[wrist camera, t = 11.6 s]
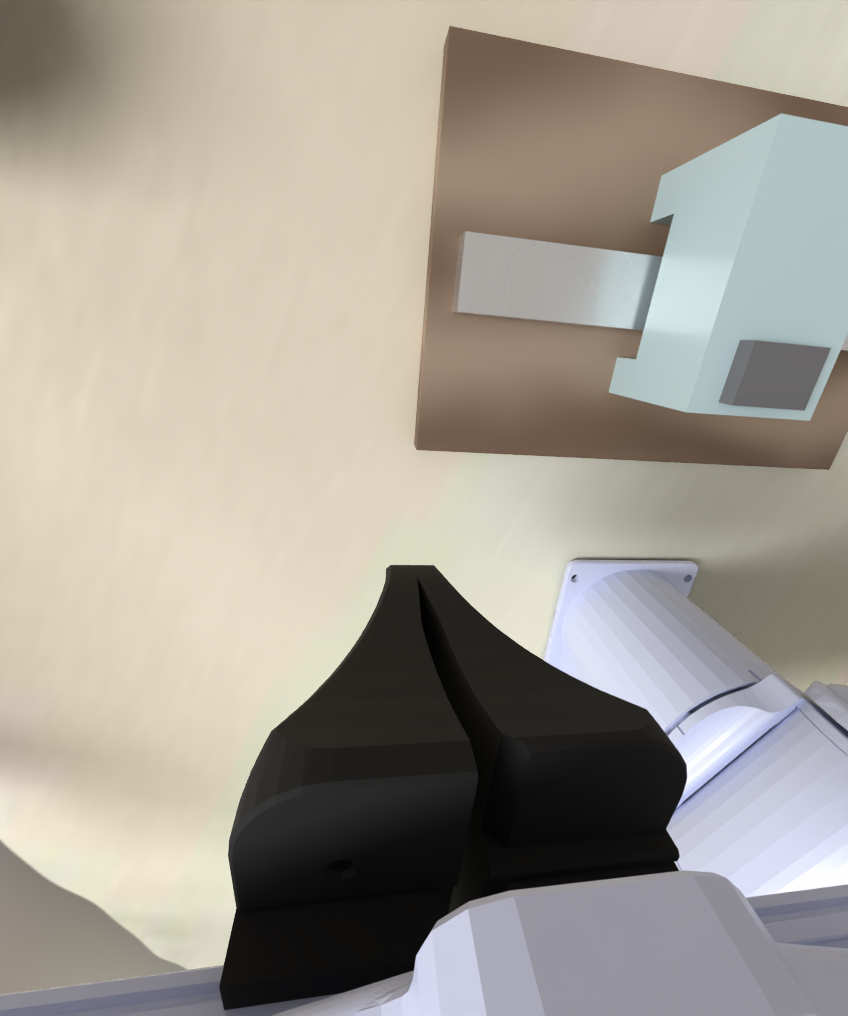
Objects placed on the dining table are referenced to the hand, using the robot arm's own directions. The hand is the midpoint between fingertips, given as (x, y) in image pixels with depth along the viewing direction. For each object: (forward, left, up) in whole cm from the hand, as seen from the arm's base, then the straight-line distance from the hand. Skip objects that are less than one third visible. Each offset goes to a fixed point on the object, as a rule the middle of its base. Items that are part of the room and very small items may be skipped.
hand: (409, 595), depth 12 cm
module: (+9, -12, -8) cm, 17 cm away
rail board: (+9, -12, -9) cm, 18 cm away
